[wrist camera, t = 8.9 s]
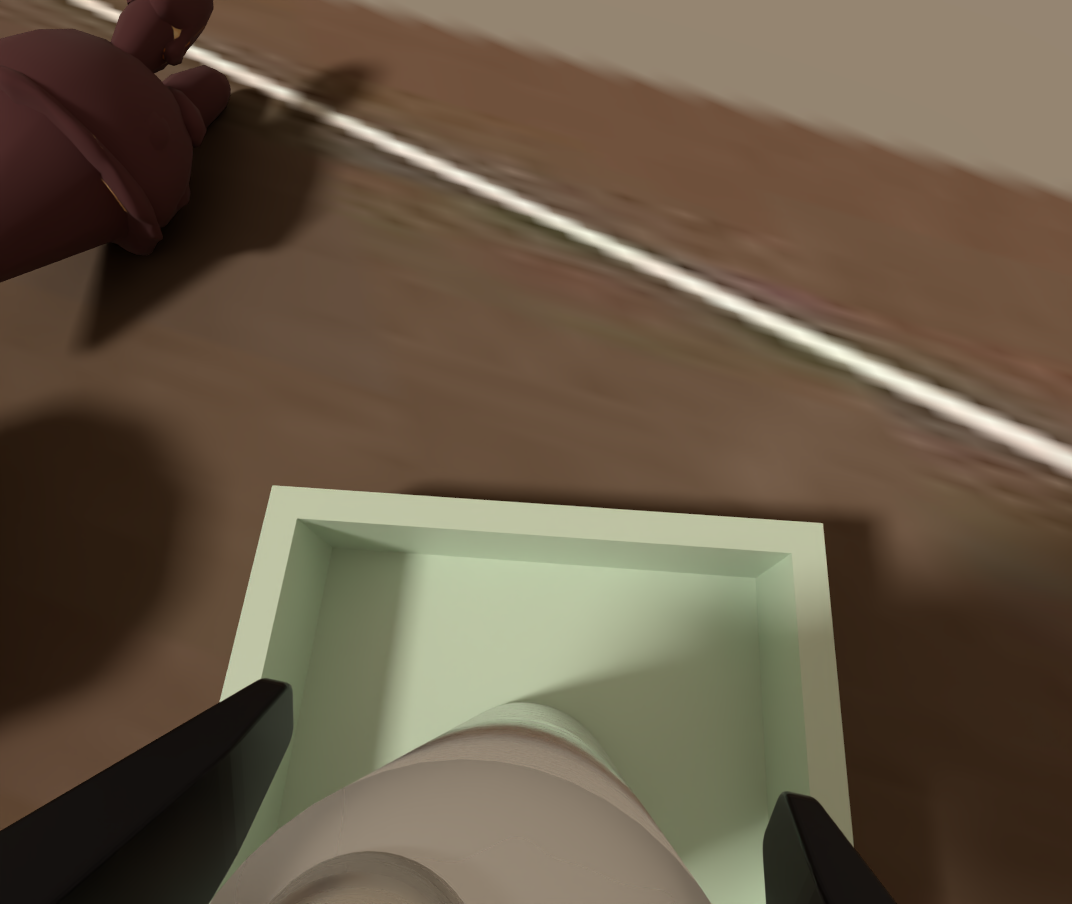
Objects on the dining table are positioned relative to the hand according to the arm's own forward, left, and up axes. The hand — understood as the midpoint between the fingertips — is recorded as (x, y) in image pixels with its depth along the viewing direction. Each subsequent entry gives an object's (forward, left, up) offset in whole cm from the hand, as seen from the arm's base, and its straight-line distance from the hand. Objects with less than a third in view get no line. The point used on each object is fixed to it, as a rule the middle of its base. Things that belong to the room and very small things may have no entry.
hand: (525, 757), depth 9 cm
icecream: (+16, +16, -9) cm, 25 cm away
